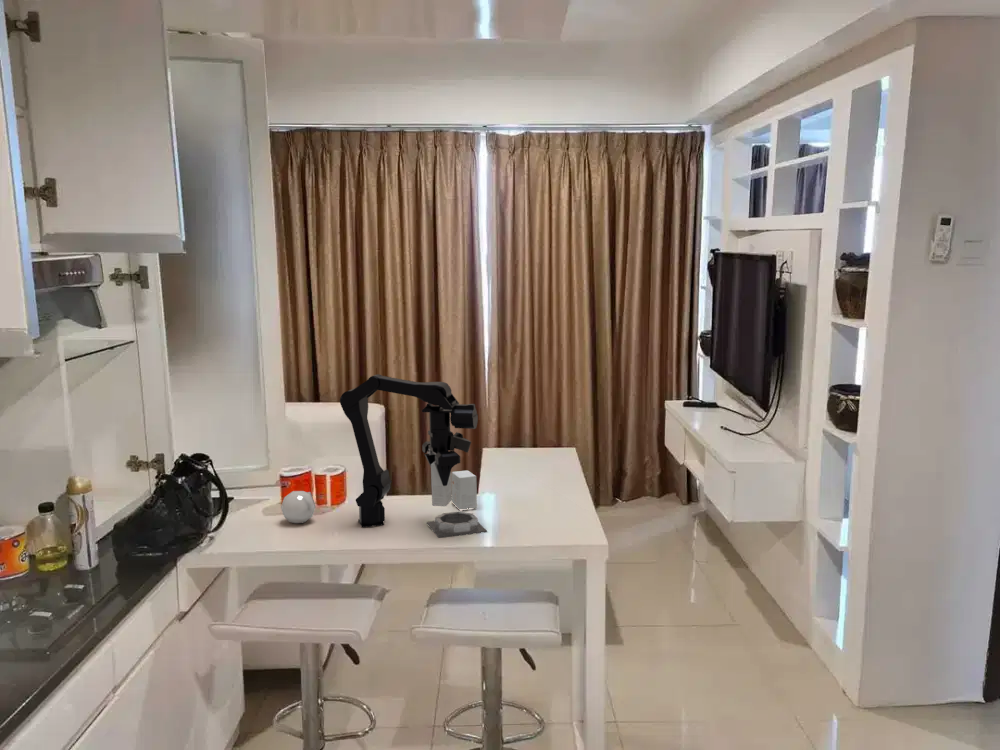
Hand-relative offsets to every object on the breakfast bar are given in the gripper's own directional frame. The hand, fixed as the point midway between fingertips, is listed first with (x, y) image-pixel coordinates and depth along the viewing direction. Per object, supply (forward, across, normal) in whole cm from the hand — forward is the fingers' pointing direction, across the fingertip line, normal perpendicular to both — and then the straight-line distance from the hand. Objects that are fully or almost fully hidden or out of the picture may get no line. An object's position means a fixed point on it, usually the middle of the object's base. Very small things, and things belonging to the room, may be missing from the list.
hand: (441, 482), depth 211 cm
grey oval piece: (+13, +22, +37) cm, 45 cm away
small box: (+14, +17, -12) cm, 25 cm away
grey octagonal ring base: (+13, -1, -4) cm, 14 cm away
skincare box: (+6, 0, 0) cm, 6 cm away
